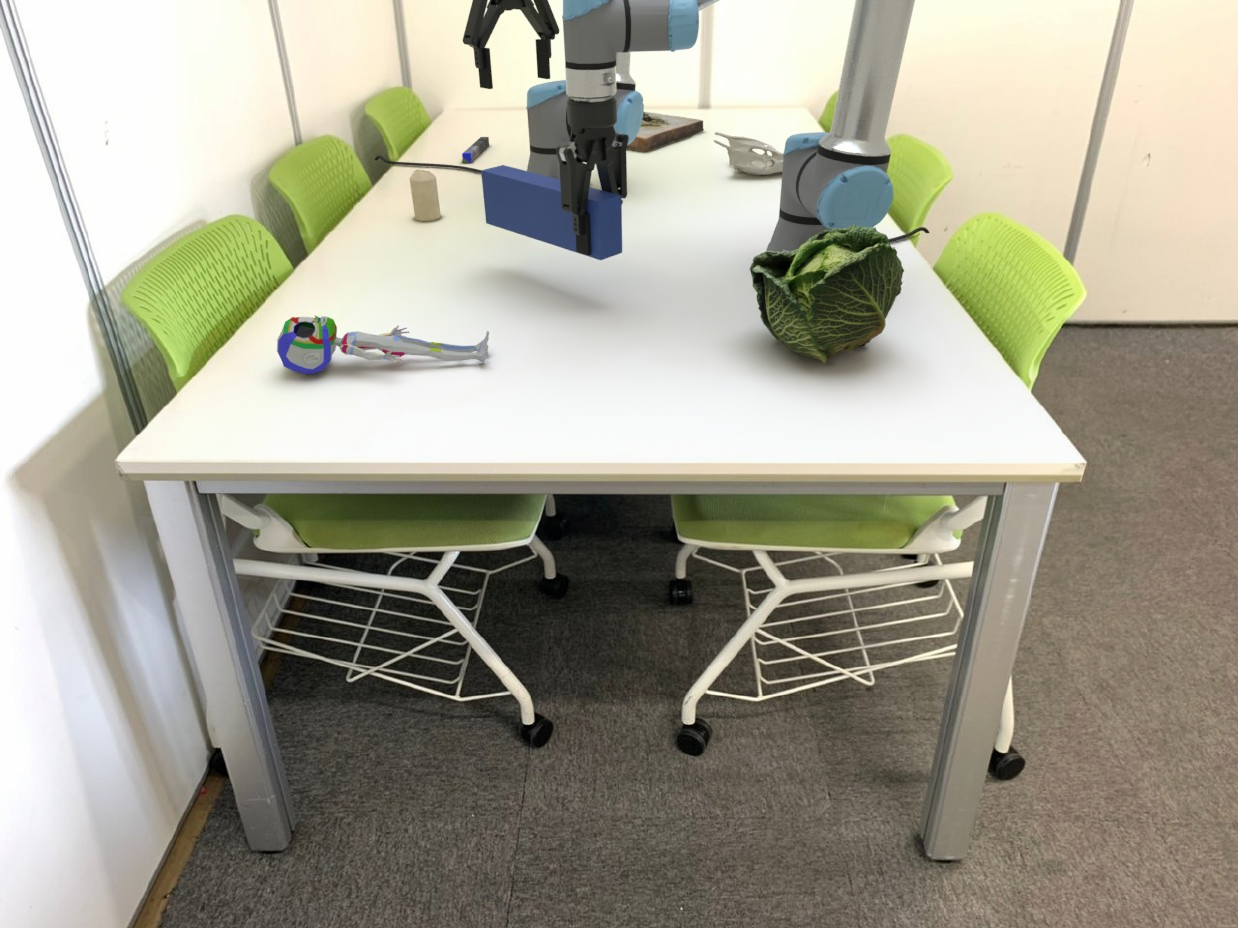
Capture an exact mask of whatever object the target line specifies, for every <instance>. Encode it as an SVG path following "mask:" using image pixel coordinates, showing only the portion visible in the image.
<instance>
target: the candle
mask: <svg viewBox="0 0 1238 928" xmlns="http://www.w3.org/2000/svg"><path fill="white" fill-rule="evenodd" d="M409 183H410V193H411V199H412V207H413V214H414V218H415V220H417V221H421V222H423V221H424V222H429V221H430V222H431V221H434V220H438V219H440V218H441V207H440V200H439V199H440V198H439V190H438V182H437V176H436V175H435V174H434V173H432V172H431V171H430V170H424V169H415V170H414V172H413V173H412V174H411V175H410V177H409Z"/></svg>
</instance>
